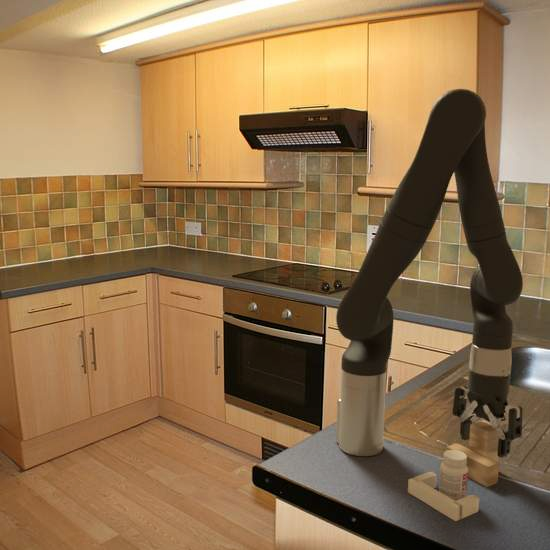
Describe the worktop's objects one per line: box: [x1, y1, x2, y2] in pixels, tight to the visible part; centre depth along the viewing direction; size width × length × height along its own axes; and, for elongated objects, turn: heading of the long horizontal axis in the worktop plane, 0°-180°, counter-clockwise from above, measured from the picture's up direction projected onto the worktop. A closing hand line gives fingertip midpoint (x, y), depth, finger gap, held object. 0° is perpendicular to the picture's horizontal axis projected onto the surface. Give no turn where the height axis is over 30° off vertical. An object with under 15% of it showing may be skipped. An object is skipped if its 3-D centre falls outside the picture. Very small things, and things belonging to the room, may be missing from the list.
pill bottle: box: [438, 450, 469, 501], centre depth 107 cm, size 5×5×8 cm
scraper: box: [445, 419, 500, 488], centre depth 117 cm, size 10×7×9 cm
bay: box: [407, 471, 480, 522], centre depth 107 cm, size 11×6×2 cm, turn 33°
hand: (483, 447), depth 118 cm, fingers open, 8 cm apart
